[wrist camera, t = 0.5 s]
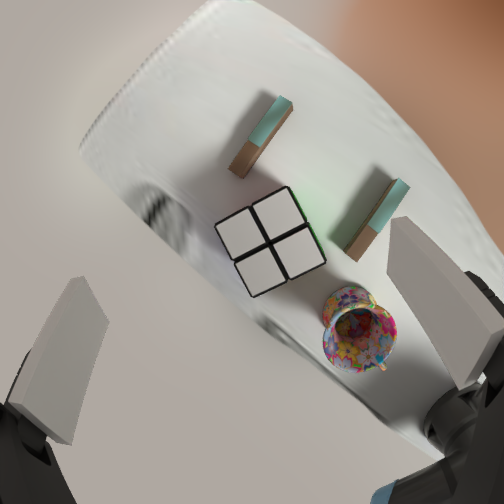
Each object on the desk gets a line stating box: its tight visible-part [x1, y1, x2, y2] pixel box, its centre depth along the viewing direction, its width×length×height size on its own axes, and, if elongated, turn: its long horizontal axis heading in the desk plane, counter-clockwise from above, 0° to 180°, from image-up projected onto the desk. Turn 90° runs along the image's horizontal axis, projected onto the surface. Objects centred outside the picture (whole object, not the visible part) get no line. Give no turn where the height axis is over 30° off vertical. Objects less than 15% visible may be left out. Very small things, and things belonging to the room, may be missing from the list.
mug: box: [323, 287, 397, 373], centre depth 38 cm, size 12×9×11 cm
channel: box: [228, 96, 410, 262], centre depth 40 cm, size 22×13×3 cm, turn 55°
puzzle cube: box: [214, 186, 327, 298], centre depth 39 cm, size 10×10×10 cm
